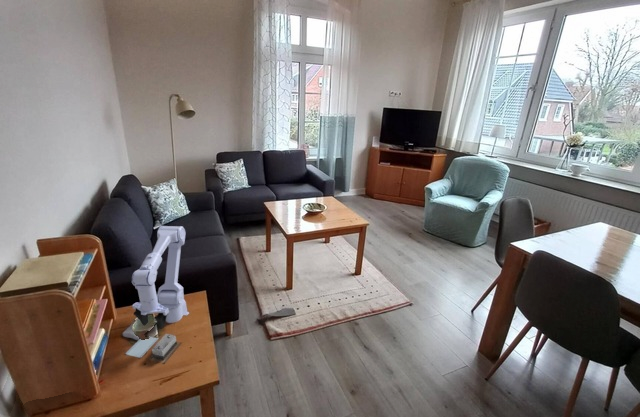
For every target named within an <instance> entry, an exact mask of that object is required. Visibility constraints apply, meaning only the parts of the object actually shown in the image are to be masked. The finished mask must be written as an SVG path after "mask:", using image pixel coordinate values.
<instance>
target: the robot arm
mask: <svg viewBox="0 0 640 417" xmlns="http://www.w3.org/2000/svg"><path fill="white" fill-rule="evenodd" d="M156 232H157V233H156V235H157V240H156V243H155V245H154V247H153V250H152V251H151V252H150V253H148V254H147V255H146V256H145V258H144V260H143V261H142V263H141V266H140V267H139V269H137V270H135V271H134V272H133V273H132V276H131V283H132V284H131V285H133V286H134V287H135V289H136V290H137V293H138V297H139V298H138V299H139V302H135V303H133V304H132V309H133V310H135V311H134V312H133V316H135V317H136V318H137V319H139V320H140V321H141V323H142V324H143V326H145V325H146V324H147V323H148V317H149V315H148V314H150V315H151V314H156V316H154V317H153V318H154V319H156V321H157V322H158V323H157V324H158V328H159V329H160V330H162V329H164V328H165V327H166V323H168V324H172V323H177V322H179V321H180V320H181V319H183V316H188V315H189V314H190V312H189V311H188V307H187V302H186V300H185V294H184V287H183V286H182V285H181V284H180V283H178V282H179V280H178V279H179V270H180V260H181V251H182V250H181V249H182V246H184V245H185V243H186V242H185V241H186V229H185V228H184V226H181V225H180V226H177V225H176V226H175V225H174V226H172V225H171V226H170V225H169V226H168V225H160V226H159V227H158V229H157V231H156ZM167 248H168V250H167V253H168V254H167V260H166V268H165V269H166V272H165V279H164V283H163V284H162V285H161V286H160V287H158V290H157V291H156V285H155V282H156V280H157V275H158V270H159V267H160V265H161V263H162V261H163V257H162V255H163V254H164V252H165V251H166V249H167Z"/></svg>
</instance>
